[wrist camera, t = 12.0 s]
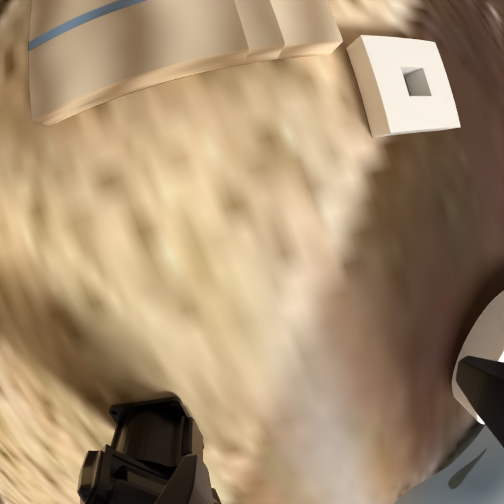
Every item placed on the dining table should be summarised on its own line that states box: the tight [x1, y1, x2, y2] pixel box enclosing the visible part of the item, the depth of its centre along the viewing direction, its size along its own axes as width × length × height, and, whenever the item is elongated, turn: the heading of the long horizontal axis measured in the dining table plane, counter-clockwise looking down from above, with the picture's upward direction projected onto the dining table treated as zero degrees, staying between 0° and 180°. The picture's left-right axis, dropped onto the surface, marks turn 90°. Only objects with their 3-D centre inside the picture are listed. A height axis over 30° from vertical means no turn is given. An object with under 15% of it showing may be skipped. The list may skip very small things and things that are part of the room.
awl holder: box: [346, 35, 460, 138], centre depth 17 cm, size 7×7×2 cm
